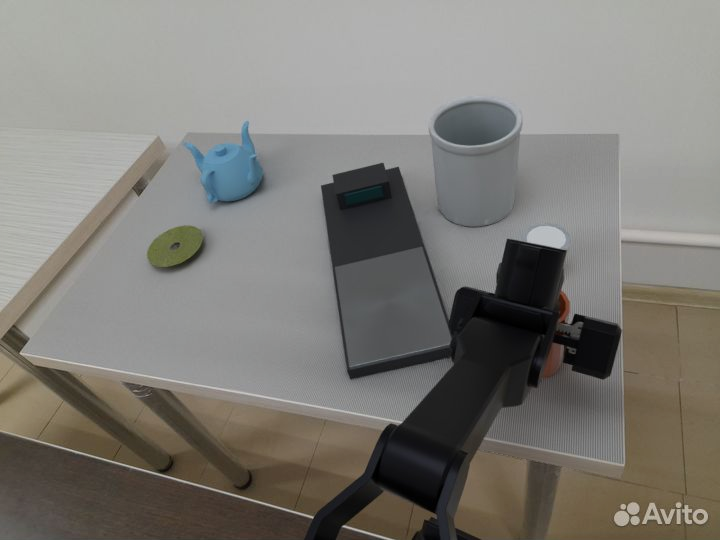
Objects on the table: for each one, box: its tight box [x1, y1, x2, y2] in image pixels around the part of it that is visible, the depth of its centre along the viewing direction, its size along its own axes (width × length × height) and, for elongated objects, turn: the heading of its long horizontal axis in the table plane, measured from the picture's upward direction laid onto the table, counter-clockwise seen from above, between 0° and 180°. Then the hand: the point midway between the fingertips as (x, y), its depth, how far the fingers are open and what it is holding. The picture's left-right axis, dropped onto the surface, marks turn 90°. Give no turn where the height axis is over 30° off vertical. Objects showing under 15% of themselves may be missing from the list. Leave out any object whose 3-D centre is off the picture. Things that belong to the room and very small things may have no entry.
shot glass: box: [521, 222, 572, 260], centre depth 80 cm, size 7×7×7 cm
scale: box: [320, 162, 453, 380], centre depth 89 cm, size 44×16×6 cm, turn 8°
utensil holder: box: [428, 94, 524, 228], centre depth 90 cm, size 15×15×18 cm
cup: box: [542, 290, 571, 379], centre depth 68 cm, size 7×7×12 cm
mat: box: [146, 225, 204, 268], centre depth 102 cm, size 11×11×2 cm
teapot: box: [182, 120, 264, 204], centre depth 111 cm, size 15×15×10 cm
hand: (539, 321), depth 69 cm, fingers closed on cup, 7 cm apart
